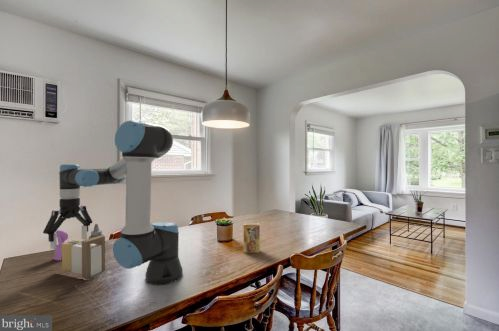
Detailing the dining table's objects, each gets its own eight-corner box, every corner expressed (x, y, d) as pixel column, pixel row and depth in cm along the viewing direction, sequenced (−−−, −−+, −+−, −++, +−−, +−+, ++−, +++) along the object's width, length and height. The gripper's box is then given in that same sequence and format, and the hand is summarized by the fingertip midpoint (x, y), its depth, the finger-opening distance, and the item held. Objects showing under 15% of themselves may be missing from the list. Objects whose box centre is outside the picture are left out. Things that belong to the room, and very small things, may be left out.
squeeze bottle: (103, 255, 128) (103, 221, 128) (107, 259, 122) (107, 224, 122) (85, 259, 122) (85, 224, 122) (88, 264, 117) (88, 227, 116)
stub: (82, 267, 112) (82, 241, 112) (71, 271, 107) (70, 244, 107) (73, 265, 114) (73, 239, 114) (61, 269, 109) (61, 243, 109)
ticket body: (105, 270, 109) (104, 236, 109) (86, 278, 101) (86, 241, 101) (86, 266, 113) (86, 233, 113) (67, 274, 105) (67, 238, 105)
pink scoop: (79, 255, 127) (79, 227, 127) (62, 262, 119) (62, 231, 119) (68, 253, 130) (68, 226, 130) (50, 259, 122) (50, 230, 121)
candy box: (259, 250, 136) (259, 223, 136) (259, 252, 131) (259, 225, 131) (243, 250, 135) (243, 223, 135) (243, 253, 131) (243, 225, 131)
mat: (111, 269, 110) (111, 269, 110) (86, 282, 99) (86, 281, 99) (75, 262, 118) (75, 261, 118) (47, 273, 107) (47, 272, 107)
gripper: (90, 193, 123) (89, 234, 124) (32, 201, 100) (32, 251, 100) (100, 194, 121) (100, 236, 121) (44, 202, 97) (44, 254, 98)
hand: (69, 243), depth 111 cm, fingers open, 13 cm apart
